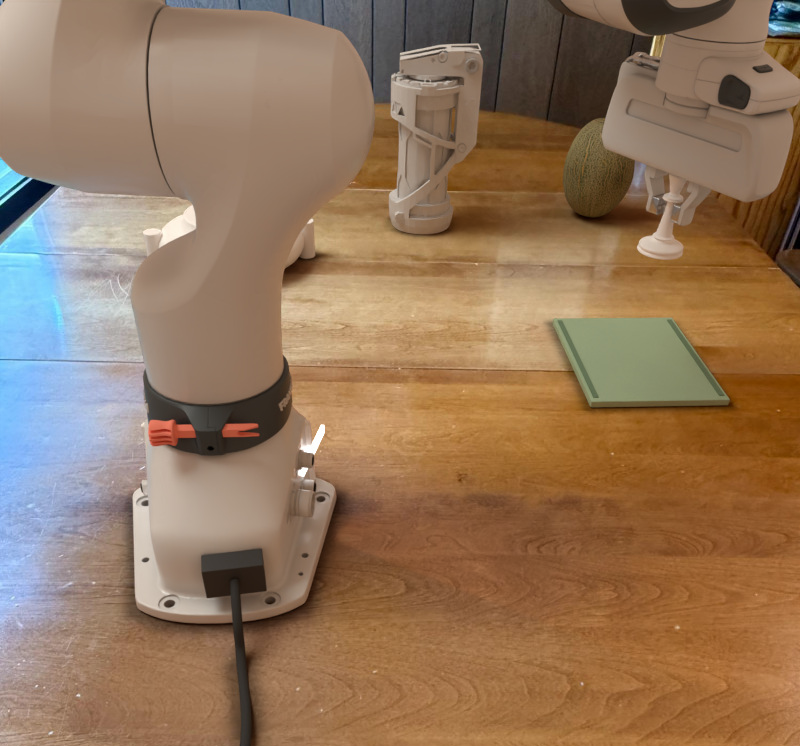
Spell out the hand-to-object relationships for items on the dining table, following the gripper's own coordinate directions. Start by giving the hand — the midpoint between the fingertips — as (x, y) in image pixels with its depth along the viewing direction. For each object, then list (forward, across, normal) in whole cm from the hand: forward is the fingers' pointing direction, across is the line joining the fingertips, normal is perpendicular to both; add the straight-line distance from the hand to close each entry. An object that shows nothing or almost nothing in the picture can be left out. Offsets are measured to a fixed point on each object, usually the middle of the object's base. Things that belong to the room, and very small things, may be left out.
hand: (668, 217), depth 82 cm
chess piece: (+4, 0, 0) cm, 4 cm away
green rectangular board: (+18, 0, +1) cm, 18 cm away
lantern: (+18, -50, +5) cm, 53 cm away
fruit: (+18, -39, +32) cm, 53 cm away
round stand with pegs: (+18, -52, -28) cm, 62 cm away
